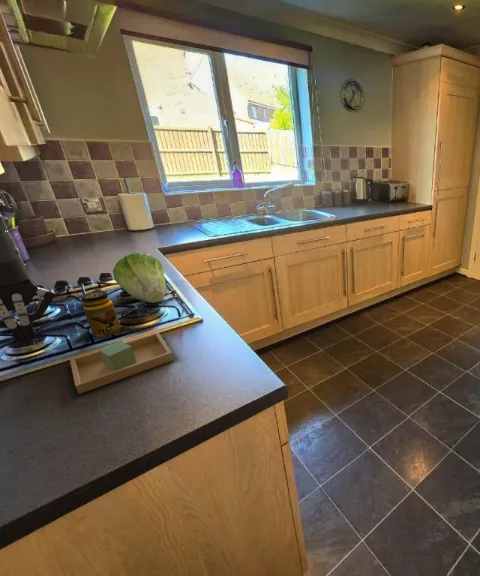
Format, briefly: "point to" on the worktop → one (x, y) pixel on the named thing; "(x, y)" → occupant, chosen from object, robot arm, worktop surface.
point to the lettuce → (141, 277)
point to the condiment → (101, 314)
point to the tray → (95, 374)
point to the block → (117, 356)
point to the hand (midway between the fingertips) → (27, 341)
